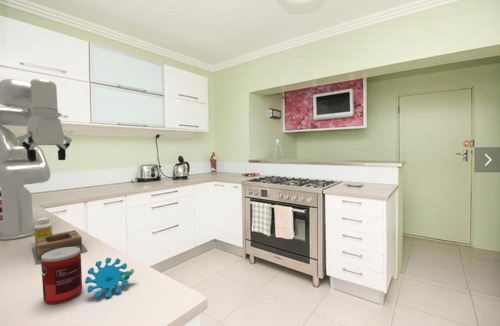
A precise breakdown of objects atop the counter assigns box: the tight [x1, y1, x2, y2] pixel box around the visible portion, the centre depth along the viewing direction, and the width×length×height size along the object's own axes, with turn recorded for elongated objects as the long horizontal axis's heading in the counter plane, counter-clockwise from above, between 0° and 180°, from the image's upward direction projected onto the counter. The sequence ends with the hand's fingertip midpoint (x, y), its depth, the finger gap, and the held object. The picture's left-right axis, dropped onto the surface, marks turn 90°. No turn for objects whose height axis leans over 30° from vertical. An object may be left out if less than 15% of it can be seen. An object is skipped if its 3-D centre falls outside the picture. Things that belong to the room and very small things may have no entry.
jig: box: [35, 229, 83, 258], centre depth 90 cm, size 12×12×4 cm
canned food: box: [40, 247, 83, 305], centre depth 61 cm, size 8×8×11 cm
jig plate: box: [31, 243, 88, 265], centre depth 90 cm, size 18×14×3 cm
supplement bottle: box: [33, 217, 53, 245], centre depth 99 cm, size 5×5×10 cm
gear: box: [84, 257, 135, 299], centre depth 64 cm, size 11×6×10 cm
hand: (47, 160), depth 92 cm, fingers open, 9 cm apart
